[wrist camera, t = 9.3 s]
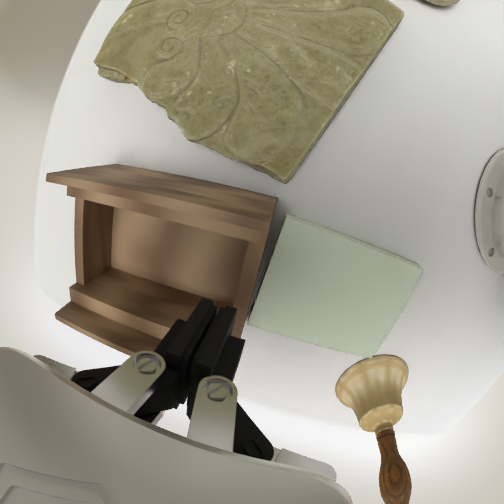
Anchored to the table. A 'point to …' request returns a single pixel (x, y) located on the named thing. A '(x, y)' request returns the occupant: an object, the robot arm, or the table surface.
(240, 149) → the decorative tile
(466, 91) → the table surface
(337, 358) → the table surface
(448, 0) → the sea urchin shell
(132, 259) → the box
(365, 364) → the hand bell
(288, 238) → the cover plate
